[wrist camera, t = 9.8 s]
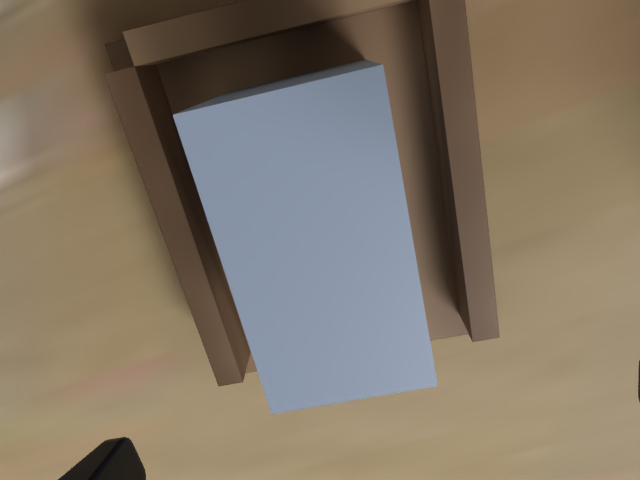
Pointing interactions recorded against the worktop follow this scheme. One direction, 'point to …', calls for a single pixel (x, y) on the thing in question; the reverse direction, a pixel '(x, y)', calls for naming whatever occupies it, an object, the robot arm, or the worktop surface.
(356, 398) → the pale blue cuboid
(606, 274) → the worktop surface
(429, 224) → the walnut rack
